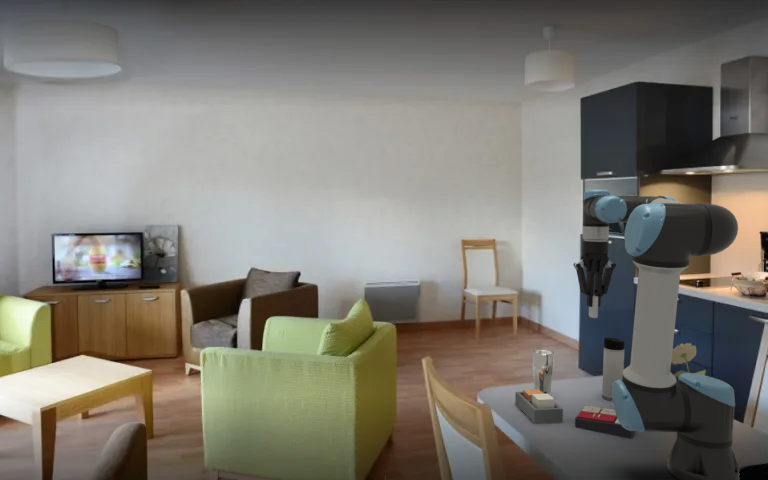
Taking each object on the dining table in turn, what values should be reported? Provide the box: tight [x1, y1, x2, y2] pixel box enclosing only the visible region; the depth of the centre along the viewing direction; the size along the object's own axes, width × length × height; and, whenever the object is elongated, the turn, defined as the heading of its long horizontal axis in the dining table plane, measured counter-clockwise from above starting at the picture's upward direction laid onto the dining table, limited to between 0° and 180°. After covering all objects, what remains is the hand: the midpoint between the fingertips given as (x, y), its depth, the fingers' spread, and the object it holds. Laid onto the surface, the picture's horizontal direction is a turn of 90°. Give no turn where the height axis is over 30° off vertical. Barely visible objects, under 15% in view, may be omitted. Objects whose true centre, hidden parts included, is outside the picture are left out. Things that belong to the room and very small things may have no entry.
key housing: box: [514, 391, 564, 424], centre depth 183 cm, size 16×9×4 cm, turn 7°
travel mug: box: [601, 337, 625, 402], centre depth 196 cm, size 6×7×20 cm
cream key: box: [532, 394, 556, 409], centre depth 179 cm, size 5×5×4 cm
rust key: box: [522, 389, 543, 400], centre depth 187 cm, size 5×5×4 cm
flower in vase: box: [671, 342, 706, 378], centre depth 169 cm, size 13×11×25 cm
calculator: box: [574, 405, 636, 439], centre depth 173 cm, size 11×4×15 cm
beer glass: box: [531, 349, 555, 397], centre depth 197 cm, size 7×7×15 cm
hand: (593, 317), depth 185 cm, fingers closed
